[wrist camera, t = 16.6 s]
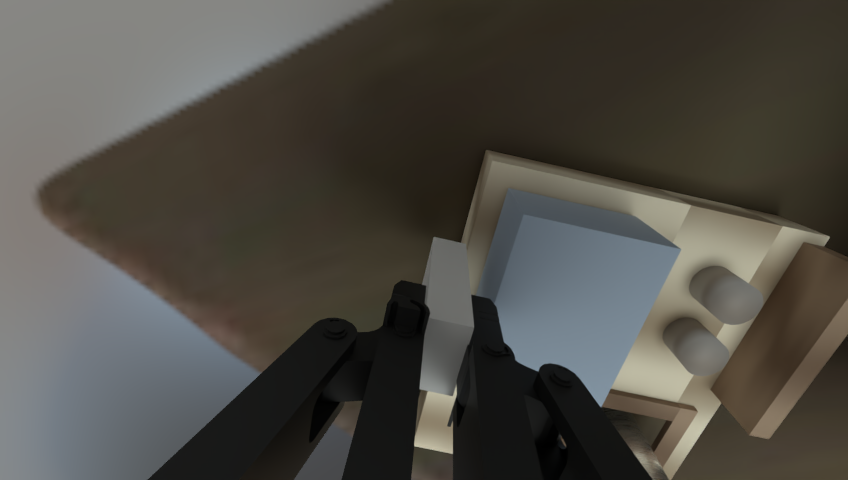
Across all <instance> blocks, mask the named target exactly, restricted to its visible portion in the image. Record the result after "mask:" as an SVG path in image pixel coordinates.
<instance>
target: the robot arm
mask: <svg viewBox="0 0 848 480" xmlns="http://www.w3.org/2000/svg"><path fill="white" fill-rule="evenodd" d="M499 322H500V321H499V316H498V311H497V307H496V306H495V304H494V303H493V302H492V301H491V299H489V298H485V297H480V296H475V295H471V289H470V279H469V269H468V259H467V249H466V244H464V243H460V242H455V241H451V240H446V239H442V238H437V237H433V242H432V246H431V250H430V254H429V258H428V262H427V266H426V271H425V275H424V279H423V283H422V285H421V284H416V283H412V282H407V281H403V280H401V281H400V282H399V283H397V284H396V285H395V286H394V289H393V293H392V297H391V300H390V301H389V302H388V303H387V308H386V313H385V317H384V322H383V326H381V327H380V328H379V329H377V330H375V331H371V332H357V329H356V328H355V326H354V325H353V324H352V323H350V322H348V321H346V320H343V319H339V318H326V319H322V320H320V321H318V322H316V323H315V324H314V325H313V326H312V327H311V328H309V329H308V330H307V331H306V332H305V333H304V334H303V335H302V336H301V337H300V338H299V339H298V340H297V341H296V342H294V343H293V344H292V345H291V346H290V347H289V348H288V349H287V350H286V351H285V352H284V353H283V354H282V355H281V356H279V357H278V358H277V359H276V360H275V361H274V362H273V363H272V364H271V365H270V366H269V367H268V368H267V369H266V370H265V371H263V372H262V373H261V374H260V375H259V376H258V377H257V378H256V379H255V380H254V381H253V382H252V383H251V384H250V385H249V386H247V387H246V388H245V389H244V390H243V391H242V392H241V393H240V394H239V395H238V396H237V397H236V398H235V399H234V400H233V401H231V402H230V403H229V404H228V405H227V406H226V407H225V408H224V409H223V410H222V411H221V412H220V413H219V414H217V415H216V416H215V417H214V418H213V419H212V420H211V421H210V422H209V423H208V424H207V425H206V426H205V427H204V428H203V429H201V430H200V431H199V432H198V433H197V434H196V435H195V436H194V437H193V438H192V439H191V440H190V441H189V442H188V443H186V444H185V445H184V446H183V447H182V448H181V449H180V450H179V451H178V452H177V453H176V454H175V455H174V456H173V457H172V458H170V460H168V461H167V462H166V463H165V464H164V465H163V466H162V467H161V468H160V469H159V470H158V471H157V472H155V473H154V474H153V475H152V476H151V477H150V478H149V479H148V480H294V478H295V477H296V475H297V474H298V473H299V471H300V470H301V468H302V467H303V465H304V464H305V462H306V461H307V459H308V458H309V456H310V455H311V453H312V452H313V451H314V449H315V448H316V446H317V445H318V443H319V442H320V440H321V439H322V437H323V436H324V434H325V433H326V431H327V430H328V428H329V427H330V426H331V424H332V423H333V421H334V420H335V418H336V417H337V415H338V414H339V412H340V411H341V409H342V408H343V406H344V403H345V401H361V400H363V402H362V405H361V409H360V413H359V417H358V420H357V424H356V428H355V432H354V435H353V439H352V443H351V447H350V450H349V454H348V458H347V462H346V465H345V469H344V473H343V476H342V480H411V473H412V462H413V452H414V441H415V431H416V420H417V409H418V399H419V389H421V390H425V391H430V392H435V393H440V394H444V395H449V396H453V394H454V391H455V387H456V384H457V396H456V399H455V402H454V405H453V408H452V411H451V414H450V418H449V421H448V424H447V426H448V427H451V424H452V421H453V480H653V479H652V478H651V477H650V475H649V474H648V472H647V471H646V470H645V468H644V467H643V466H642V464H641V463H640V461H639V460H638V459H637V457H636V456H635V454H634V453H633V452H632V450H631V449H630V448H629V446H628V445H627V443H626V442H625V441H624V439H623V438H622V436H621V435H620V434H619V432H618V431H617V429H616V428H615V427H614V425H613V424H612V423H611V421H610V420H609V418H608V417H607V416H606V414H605V413H604V411H603V410H602V409H601V407H600V406H599V404H598V403H597V402H596V400H595V399H594V398H593V396H592V395H591V393H590V392H589V391H588V389H587V388H586V386H585V385H584V384H583V382H582V381H581V379H580V378H579V377H578V376H577V375H576V374H575V373H573V372H572V371H570V370H569V369H568V368H566V367H563V366H561V365H558V364H552V363H548V364H544V365H542V366H541V367H540V368H539V371H535V370H533V369H531V368H529V367H526V366H524V365H522V364H520V363H519V362H517V361H516V360H515V356H514V353H513V351H512V349H511V348H510V347H509V346H508V345H507V344H506V343H504V340H503V335H502V331H501V326H500V323H499ZM561 437H562V438H563V440H564V442H565V444H566V447H565V445H564V444H563V442H562V440H561Z"/></svg>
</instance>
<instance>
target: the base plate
mask: <svg viewBox="0 0 848 480" xmlns="http://www.w3.org/2000/svg"><path fill="white" fill-rule="evenodd" d="M508 188H511V189H515V190H520V191H524V192H529V193H533V194H538V195H542V196H547V197H551V198H556V199H560V200H565V201H569V202H574V203H578V204H583V205H587V206H591V207H596V208H600V209H605V210H609V211H614V212H618V213H623V214H627V215H632V216H636V217H637V218H639V219H640V220H641V221H643V222H644V223H646V224H647V225H648V226H650V227H651V228H653V229H654V230H655V231H657V232H658V233H659V234H661V235H662V236H664V237H665V238H666V239H668V240H669V241H671V242H672V243H673V244H675V245H676V246H678V247H679V248H680V249H681V251H680V253H679V255H678V257H677V259H676V261H675V263H674V265H673V267H672V269H671V271H670V273H669V275H668V277H667V279H666V281H665V283H664V285H663V287H662V289H661V291H660V293H659V295H658V297H657V299H656V301H655V302H654V304H653V306H652V308H651V310H650V312H649V314H648V316H647V318H646V320H645V322H644V324H643V326H642V328H641V330H640V332H639V334H638V336H637V338H636V340H635V342H634V344H633V346H632V348H631V350H630V352H629V354H628V356H627V358H626V360H625V362H624V364H623V366H622V368H621V369H620V371H619V373H618V375H617V377H616V379H615V381H614V383H613V385H612V387H611V389H610V391H609V393H608V395H607V397H606V399H605V401H604V403H603V405H602V407H606V408H610V409H615V410H620V411H625V412H630V413H632V414H633V416H634V418H635V420H636V422H637V423H638V425H639V427H640V429H641V431H642V432H643V434H644V436H645V438H646V439H647V441H648V443H649V445H650V447H651V448H652V450H653V452H654V454H655V456H656V457H657V459H658V461H659V463H660V464H661V466H662V468H663V470H664V472H665V473H666V475H667V477H668V479H669V480H671V479H672V477H673V476H674V474H675V473H676V471H677V470H678V468H679V467H680V465H681V464H682V462H683V460H684V459H685V457H686V456H687V454H688V453H689V451H690V450H691V448H692V447H693V445H694V444H695V442H696V441H697V439H698V438H699V436H700V435H701V433H702V432H703V430H704V429H705V427H706V425H707V424H708V422H709V421H710V419H711V418H712V416H713V415H714V413H715V412H716V410H717V409H718V407H719V406H720V404H721V403H722V404H723V405H724V406H725V407H726V409H727V410H728V411H729V412H730V413H731V414H732V416H733V417H734V418H735V419H736V420H737V421H738V423H739V424H740V425H741V426H742V427H743V429H744V430H745V431H746V432H747V433H748V434H749V435H751V436H756V437H761V438H766V439H769V438H770V437H771V436H772V434H773V433H774V432H775V430H776V429H777V428H778V426H779V425H780V424H781V422H782V421H783V420H784V418H785V417H786V416H787V414H788V413H789V412H790V410H791V409H792V408H793V406H794V405H795V404H796V402H797V401H798V400H799V398H800V397H801V396H802V394H803V393H804V392H805V390H806V389H807V388H808V386H809V385H810V384H811V382H812V381H813V380H814V378H815V377H816V376H817V374H818V373H819V372H820V370H821V369H822V368H823V366H824V365H825V364H826V363H827V361H828V360H829V359H830V357H831V356H832V355H833V353H834V352H835V351H836V349H837V348H838V347H839V345H840V344H841V343H842V341H843V340H844V339H845V337H846V336H847V335H848V257H847V256H844V255H842V254H840V253H837V252H835V251H833V250H831V249H828V248H826V247H824V246H825V244H826V243H827V241H828V240H829V238H830V236H827V235H825V234H822V233H820V232H817V231H815V230H812V229H810V228H808V227H805V226H803V225H800V224H798V223H795V222H793V221H790V220H788V219H785V218H783V217H781V216H777V215H773V214H768V213H764V212H759V211H755V210H751V209H746V208H742V207H737V206H733V205H728V204H724V203H720V202H715V201H711V200H706V199H702V198H698V197H693V196H689V195H684V194H680V193H675V192H671V191H667V190H662V189H658V188H653V187H649V186H644V185H640V184H636V183H631V182H627V181H622V180H618V179H614V178H609V177H605V176H600V175H596V174H591V173H587V172H583V171H578V170H574V169H569V168H565V167H561V166H556V165H552V164H547V163H543V162H538V161H534V160H530V159H525V158H521V157H516V156H512V155H508V154H503V153H499V152H494V151H490V150H486V152H485V155H484V159H483V163H482V166H481V170H480V174H479V178H478V181H477V185H476V189H475V192H474V196H473V200H472V203H471V207H470V211H469V214H468V218H467V222H466V225H465V229H464V233H463V237H462V240H461V243H464V244H466V249H467V259H468V269H469V279H470V289H471V295H475V296H476V293H477V289H478V286H479V283H480V280H481V276H482V273H483V270H484V266H485V263H486V260H487V256H488V253H489V250H490V247H491V243H492V240H493V237H494V233H495V230H496V227H497V224H498V220H499V217H500V214H501V210H502V207H503V204H504V200H505V197H506V194H507V191H508ZM456 396H457V384H456V387H455V391H454V394H453V396H449V395H444V394H440V393H435V392H430V391H425V390H421V392H420V395H419V399H418V409H417V420H416V431H415V441H414V446H416V447H421V448H426V449H431V450H436V451H441V452H446V453H451V454H453V421H452V424H451V427H448V426H447V424H448V421H449V418H450V414H451V411H452V408H453V405H454V402H455V399H456ZM561 440H562V442H563V444H564V445H565V447H566V444H565V442H564V440H563V438H562V437H561Z"/></svg>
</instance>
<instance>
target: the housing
mask: <svg viewBox="0 0 848 480" xmlns="http://www.w3.org/2000/svg"><path fill="white" fill-rule="evenodd" d="M680 251H681V249H680V248H679V247H678V246H676V245H675V244H673V243H672V242H671V241H669V240H668V239H666V238H665V237H664V236H662V235H661V234H659V233H658V232H657V231H655V230H654V229H653V228H651V227H650V226H648V225H647V224H646V223H644V222H643V221H641V220H640V219H639V218H637V217H636V216H632V215H627V214H623V213H618V212H614V211H609V210H605V209H600V208H596V207H591V206H587V205H583V204H578V203H574V202H569V201H565V200H560V199H556V198H551V197H547V196H542V195H538V194H533V193H529V192H524V191H520V190H515V189H511V188H508V191H507V194H506V197H505V200H504V204H503V207H502V210H501V214H500V217H499V220H498V224H497V227H496V230H495V233H494V237H493V240H492V243H491V247H490V250H489V253H488V256H487V260H486V263H485V266H484V270H483V273H482V276H481V280H480V283H479V286H478V289H477V293H476V296H480V297H485V298H489V299H491V301H492V302H493V303H494V304H495V306H496V307H497V311H498V316H499V321H500V322H499V323H500V326H501V331H502V335H503V340H504V343H506V344H507V345H508V346H509V347H510V348H511V349H512V351H513V353H514V356H515V360H516V361H517V362H519V363H520V364H522V365H524V366H526V367H529V368H531V369H533V370H535V371H539V368H540V367H541V366H542V365H544V364H548V363H552V364H558V365H561V366H563V367H566V368H568V369H569V370H570V371H572V372H573V373H575V374H576V375H577V376H578V377H579V378H580V379H581V381H582V382H583V384H584V385H585V386H586V388H587V389H588V391H589V392H590V393H591V395H592V396H593V398H594V399H595V400H596V402H597V403H598V404H599V406H600V407H602V405H603V403H604V401H605V399H606V397H607V395H608V393H609V391H610V389H611V387H612V385H613V383H614V381H615V379H616V377H617V375H618V373H619V371H620V369H621V368H622V366H623V364H624V362H625V360H626V358H627V356H628V354H629V352H630V350H631V348H632V346H633V344H634V342H635V340H636V338H637V336H638V334H639V332H640V330H641V328H642V326H643V324H644V322H645V320H646V318H647V316H648V314H649V312H650V310H651V308H652V306H653V304H654V302H655V301H656V299H657V297H658V295H659V293H660V291H661V289H662V287H663V285H664V283H665V281H666V279H667V277H668V275H669V273H670V271H671V269H672V267H673V265H674V263H675V261H676V259H677V257H678V255H679V253H680Z"/></svg>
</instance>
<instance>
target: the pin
mask: <svg viewBox="0 0 848 480" xmlns="http://www.w3.org/2000/svg"><path fill="white" fill-rule="evenodd" d="M601 409H602V410H603V411H604V413H605V414H606V416H607V417H608V418H609V420H610V421H611V423H612V424H613V425H614V427H615V428H616V429H617V431H618V432H619V434H620V435H621V436H622V438H623V439H624V441H625V442H626V443H627V445H628V446H629V448H630V449H631V450H632V452H633V453H634V454H635V456H636V457H637V459H638V460H639V461H640V463H641V464H642V466H643V467H644V468H645V470H646V471H647V472H648V474H649V475H650V477H651V478H652V479H653V480H669V479H668V477H667V475H666V473H665V472H664V470H663V468H662V466H661V464H660V463H659V461H658V459H657V457H656V456H655V454H654V452H653V450H652V448H651V447H650V445H649V443H648V441H647V439H646V438H645V436H644V434H643V432H642V431H641V429H640V427H639V425H638V423H637V422H636V420H635V418H634V416H633V414H632V413H630V412H625V411H620V410H615V409H610V408H606V407H601Z"/></svg>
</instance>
